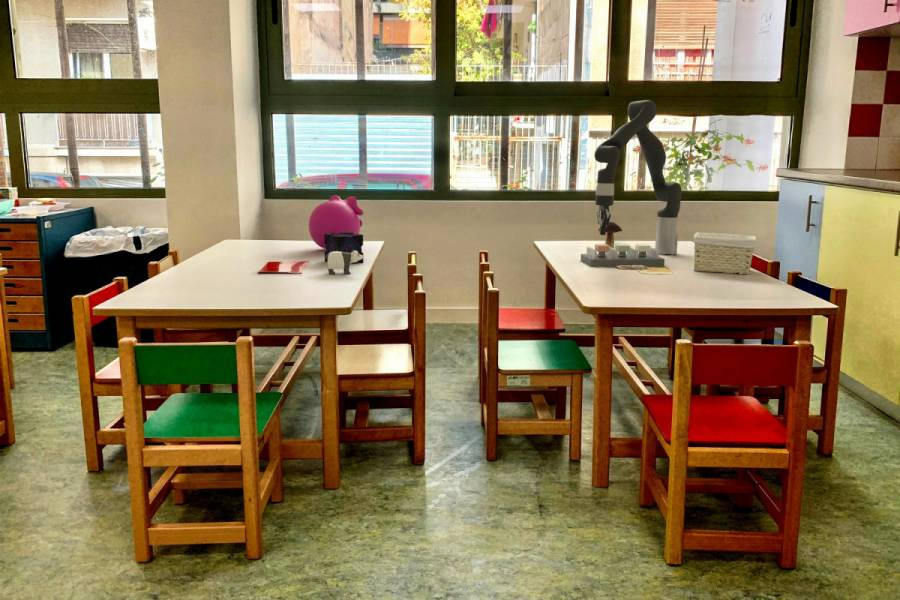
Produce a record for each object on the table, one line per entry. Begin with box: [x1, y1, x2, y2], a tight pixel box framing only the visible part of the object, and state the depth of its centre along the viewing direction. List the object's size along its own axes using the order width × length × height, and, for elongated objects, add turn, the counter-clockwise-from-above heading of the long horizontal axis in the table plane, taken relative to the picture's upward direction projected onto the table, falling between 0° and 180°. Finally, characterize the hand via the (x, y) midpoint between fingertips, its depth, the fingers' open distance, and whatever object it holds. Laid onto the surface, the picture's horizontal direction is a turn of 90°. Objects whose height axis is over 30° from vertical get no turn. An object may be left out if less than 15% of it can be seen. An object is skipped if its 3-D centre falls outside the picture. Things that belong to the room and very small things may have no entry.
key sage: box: [614, 243, 631, 256], centre depth 333 cm, size 5×5×5 cm
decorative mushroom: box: [597, 221, 623, 254], centre depth 360 cm, size 11×11×15 cm
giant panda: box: [326, 250, 364, 276], centre depth 301 cm, size 15×6×10 cm, turn 101°
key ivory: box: [634, 243, 652, 256], centre depth 334 cm, size 5×5×5 cm
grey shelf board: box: [580, 246, 666, 268], centre depth 334 cm, size 32×16×6 cm, turn 96°
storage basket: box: [693, 231, 757, 275], centre depth 317 cm, size 24×16×15 cm
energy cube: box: [324, 232, 364, 264], centre depth 328 cm, size 12×12×12 cm
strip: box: [615, 265, 648, 270], centre depth 322 cm, size 12×4×1 cm, turn 96°
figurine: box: [308, 194, 364, 250], centre depth 360 cm, size 23×24×25 cm
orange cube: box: [594, 243, 610, 256], centre depth 332 cm, size 5×5×5 cm
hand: (602, 234), depth 331 cm, fingers closed
